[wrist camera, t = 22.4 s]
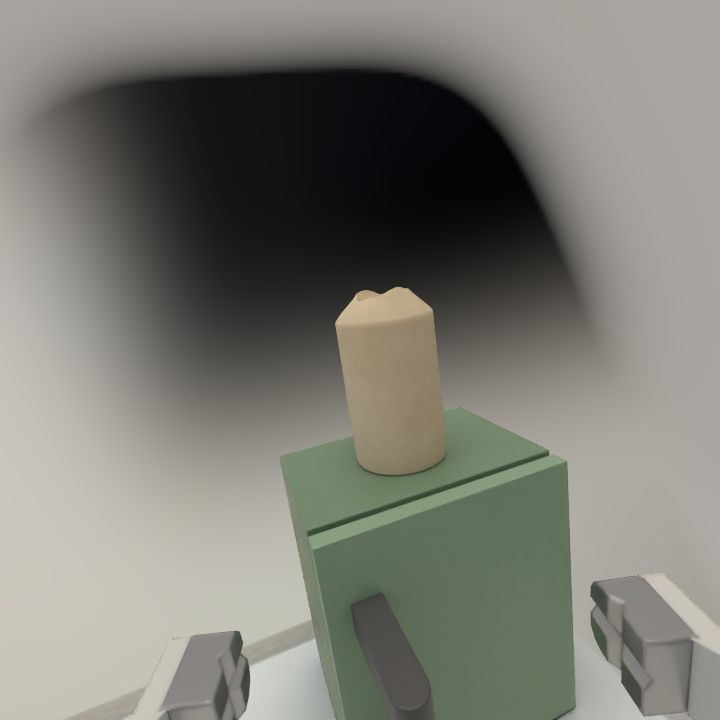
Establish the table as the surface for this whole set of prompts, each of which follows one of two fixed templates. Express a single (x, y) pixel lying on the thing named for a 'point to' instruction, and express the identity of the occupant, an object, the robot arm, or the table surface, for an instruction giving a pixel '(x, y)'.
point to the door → (455, 602)
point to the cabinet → (385, 492)
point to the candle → (392, 382)
